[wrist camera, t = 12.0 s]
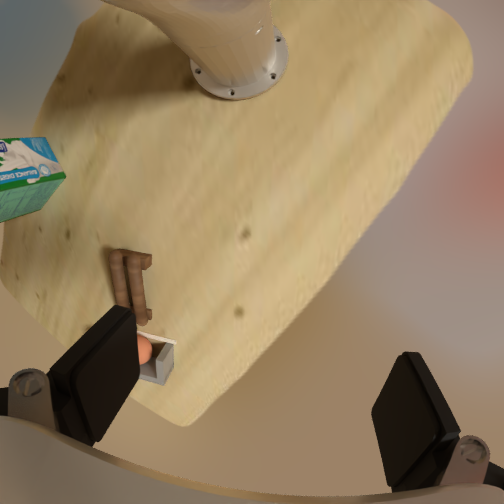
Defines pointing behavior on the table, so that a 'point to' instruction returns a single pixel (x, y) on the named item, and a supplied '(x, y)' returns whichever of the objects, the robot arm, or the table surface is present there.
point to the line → (156, 337)
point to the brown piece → (131, 281)
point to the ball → (144, 349)
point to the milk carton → (26, 176)
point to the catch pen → (158, 366)
